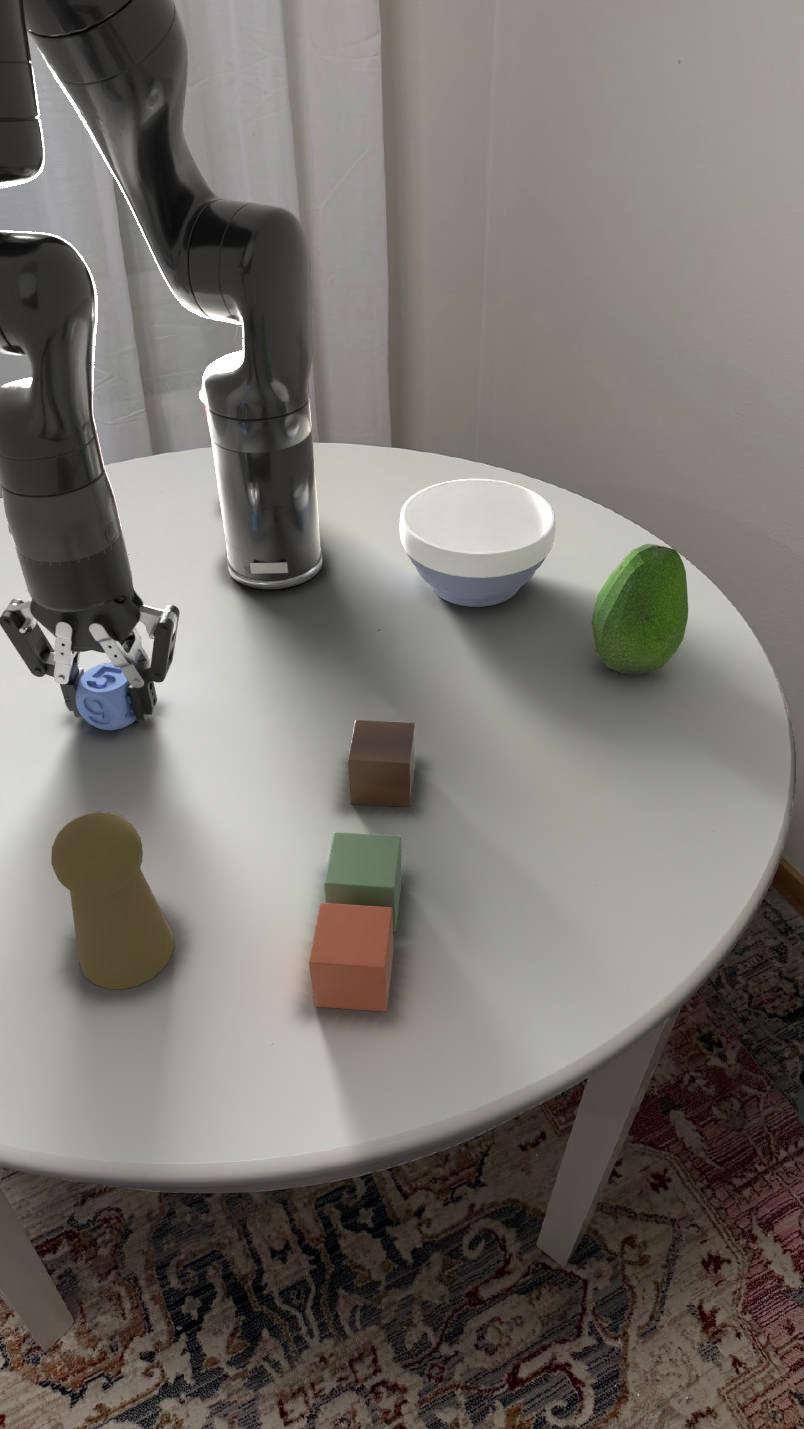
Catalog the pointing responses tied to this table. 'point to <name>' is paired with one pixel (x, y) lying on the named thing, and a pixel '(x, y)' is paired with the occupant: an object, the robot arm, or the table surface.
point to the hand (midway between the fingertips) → (114, 712)
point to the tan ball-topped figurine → (111, 901)
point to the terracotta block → (352, 957)
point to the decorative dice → (105, 698)
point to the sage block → (365, 871)
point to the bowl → (477, 538)
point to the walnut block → (382, 763)
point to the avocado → (642, 611)
